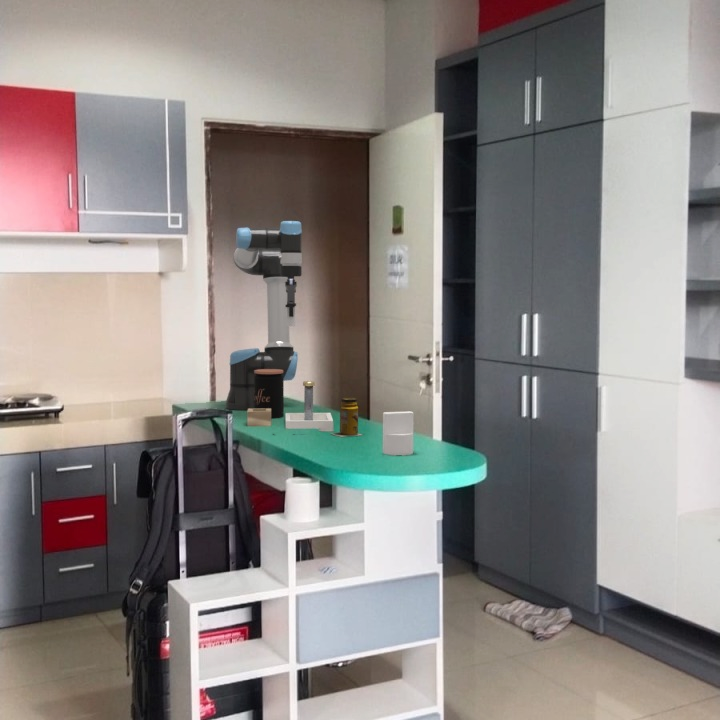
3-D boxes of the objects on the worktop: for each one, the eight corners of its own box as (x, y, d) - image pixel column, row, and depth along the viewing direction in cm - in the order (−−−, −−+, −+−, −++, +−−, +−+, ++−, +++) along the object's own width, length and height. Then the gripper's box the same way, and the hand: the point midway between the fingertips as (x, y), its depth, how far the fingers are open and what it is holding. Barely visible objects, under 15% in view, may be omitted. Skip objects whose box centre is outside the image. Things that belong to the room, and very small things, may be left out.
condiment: (363, 435, 313) (363, 399, 312) (341, 437, 309) (341, 400, 308) (351, 432, 319) (351, 396, 318) (329, 434, 315) (329, 398, 314)
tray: (285, 422, 339) (285, 413, 339) (330, 422, 341) (330, 412, 340) (285, 431, 319) (285, 421, 319) (333, 431, 321) (333, 420, 320)
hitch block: (248, 425, 332) (248, 408, 332) (271, 425, 333) (271, 408, 332) (247, 429, 324) (247, 411, 324) (270, 428, 325) (270, 411, 324)
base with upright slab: (388, 456, 276) (388, 415, 275) (378, 450, 284) (379, 411, 283) (417, 454, 278) (417, 414, 277) (407, 449, 287) (407, 410, 286)
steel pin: (302, 423, 332) (303, 381, 331) (314, 423, 332) (314, 381, 331) (302, 424, 328) (303, 382, 327) (314, 424, 328) (314, 382, 327)
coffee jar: (248, 418, 349) (248, 369, 347) (273, 416, 355) (273, 368, 354) (263, 422, 340) (263, 372, 339) (289, 419, 347) (289, 370, 345)
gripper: (280, 265, 348) (280, 323, 350) (280, 264, 323) (280, 327, 325) (300, 265, 348) (300, 323, 350) (302, 264, 324) (302, 327, 325)
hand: (290, 325), depth 338 cm, fingers open, 13 cm apart
